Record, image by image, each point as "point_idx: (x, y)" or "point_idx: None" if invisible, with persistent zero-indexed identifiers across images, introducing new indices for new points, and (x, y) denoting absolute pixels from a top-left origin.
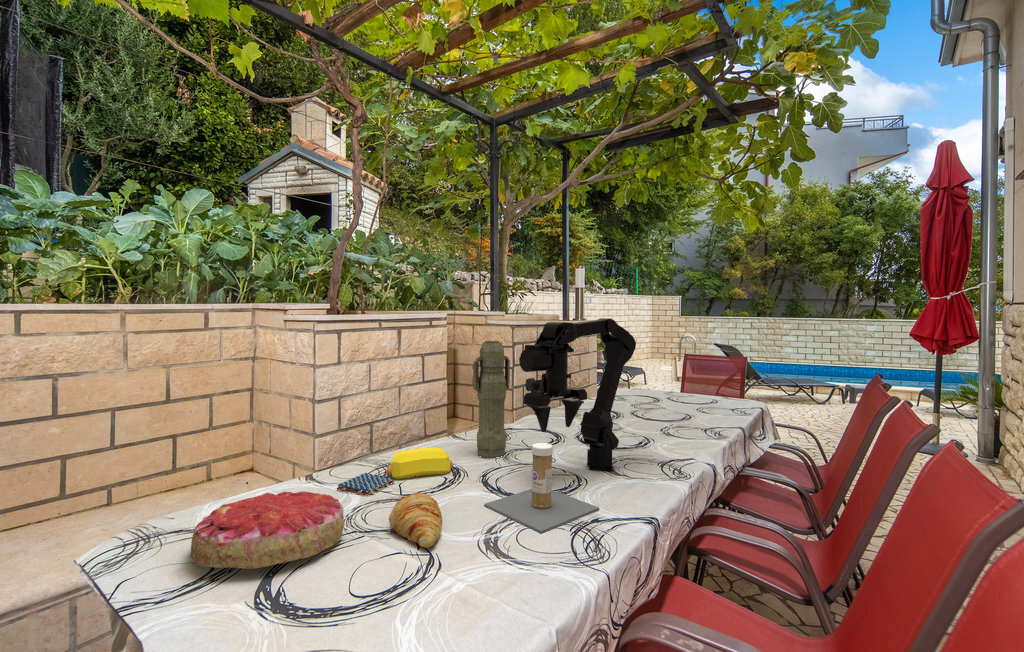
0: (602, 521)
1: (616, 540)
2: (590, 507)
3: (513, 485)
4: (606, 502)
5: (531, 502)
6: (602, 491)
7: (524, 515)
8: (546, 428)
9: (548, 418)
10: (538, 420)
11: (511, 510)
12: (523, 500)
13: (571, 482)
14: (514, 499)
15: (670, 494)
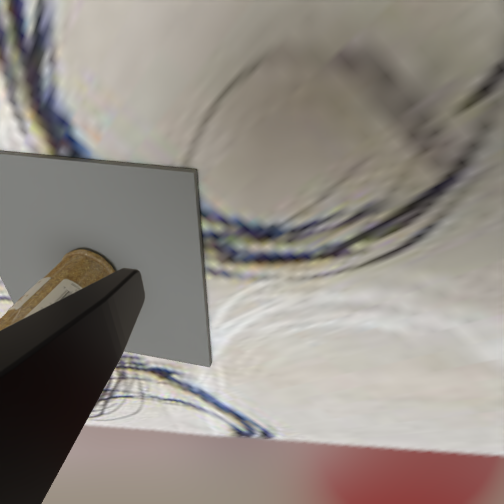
0: (171, 382)
1: (137, 413)
2: (192, 354)
3: (114, 57)
4: (264, 359)
5: (62, 258)
6: (333, 327)
7: (24, 275)
8: (126, 336)
9: (57, 465)
10: (5, 336)
11: (3, 237)
12: (62, 216)
13: (339, 216)
14: (40, 191)
15: (440, 441)
